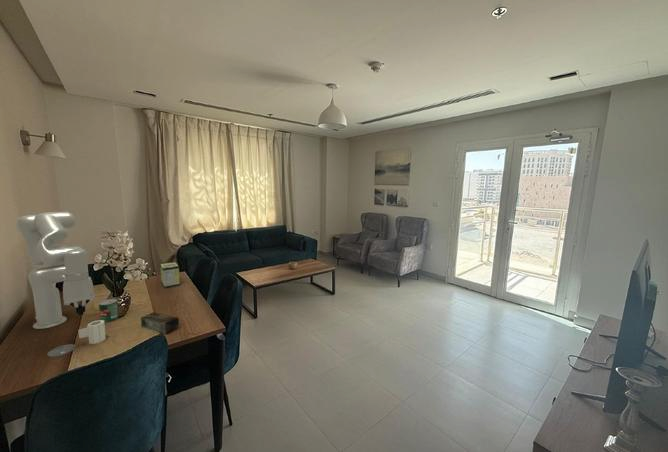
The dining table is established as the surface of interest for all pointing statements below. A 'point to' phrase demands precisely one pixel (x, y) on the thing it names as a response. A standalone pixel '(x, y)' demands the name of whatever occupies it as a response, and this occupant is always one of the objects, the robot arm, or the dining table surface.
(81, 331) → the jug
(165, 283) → the protein box
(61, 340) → the dining table surface
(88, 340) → the post
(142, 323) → the beverage carton
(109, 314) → the canned tomato
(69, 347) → the coaster
